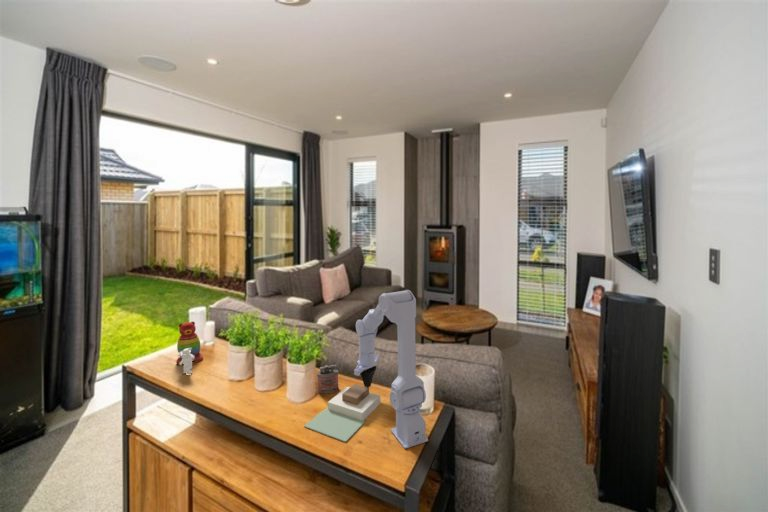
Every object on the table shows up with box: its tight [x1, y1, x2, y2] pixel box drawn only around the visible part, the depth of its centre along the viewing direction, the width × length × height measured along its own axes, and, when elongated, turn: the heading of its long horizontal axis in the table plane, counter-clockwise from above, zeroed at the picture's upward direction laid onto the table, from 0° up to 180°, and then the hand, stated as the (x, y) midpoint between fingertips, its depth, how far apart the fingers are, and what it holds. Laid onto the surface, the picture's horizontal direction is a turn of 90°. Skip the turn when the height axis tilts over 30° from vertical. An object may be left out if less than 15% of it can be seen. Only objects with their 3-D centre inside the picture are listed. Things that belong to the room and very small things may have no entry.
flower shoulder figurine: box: [177, 348, 195, 374], centre depth 145 cm, size 9×4×12 cm, turn 61°
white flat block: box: [327, 386, 381, 421], centre depth 120 cm, size 12×14×3 cm
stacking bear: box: [176, 321, 204, 365], centre depth 159 cm, size 11×10×18 cm
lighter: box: [316, 364, 340, 394], centre depth 130 cm, size 8×3×10 cm, turn 105°
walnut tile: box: [342, 383, 370, 405], centre depth 120 cm, size 8×6×2 cm
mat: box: [303, 408, 366, 443], centre depth 110 cm, size 11×16×1 cm
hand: (367, 385), depth 127 cm, fingers closed
